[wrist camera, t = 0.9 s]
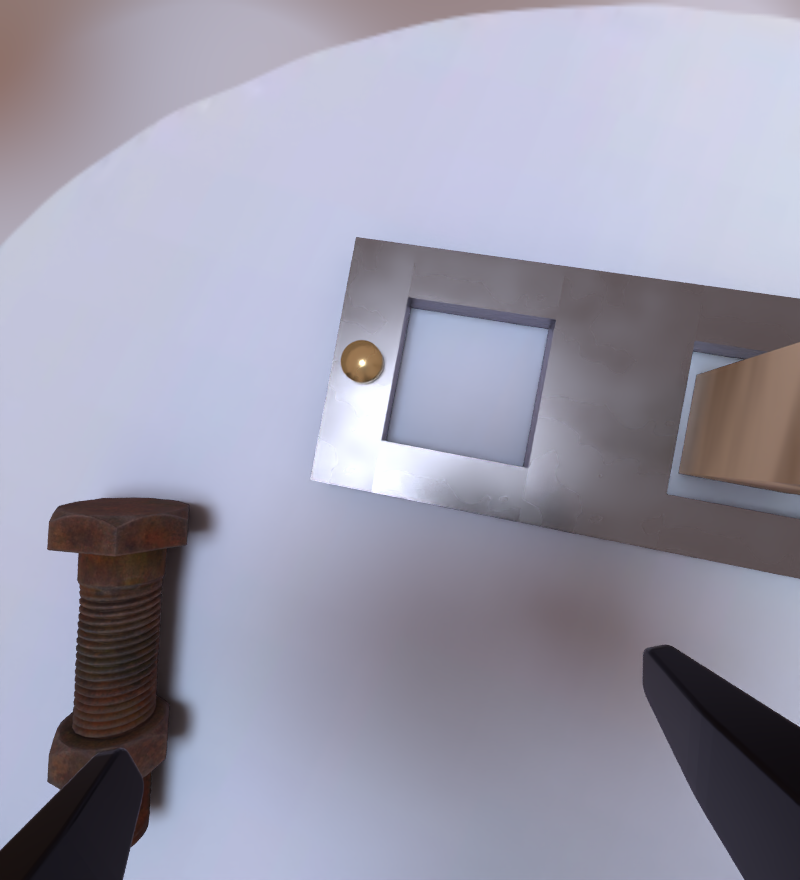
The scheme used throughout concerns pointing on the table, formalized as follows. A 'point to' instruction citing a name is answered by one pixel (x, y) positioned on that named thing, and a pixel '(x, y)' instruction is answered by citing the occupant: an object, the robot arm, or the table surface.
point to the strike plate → (556, 398)
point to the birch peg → (747, 423)
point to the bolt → (116, 633)
